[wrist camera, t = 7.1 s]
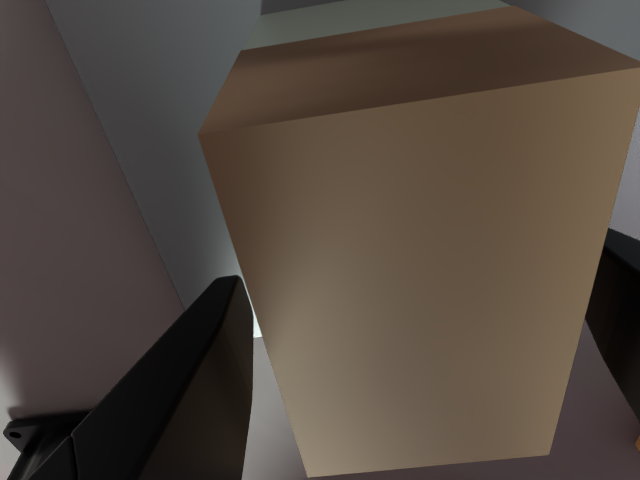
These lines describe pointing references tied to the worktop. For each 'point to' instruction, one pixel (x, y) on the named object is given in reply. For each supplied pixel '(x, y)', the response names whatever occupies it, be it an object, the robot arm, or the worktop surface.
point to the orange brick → (638, 444)
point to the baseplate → (209, 76)
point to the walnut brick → (422, 228)
